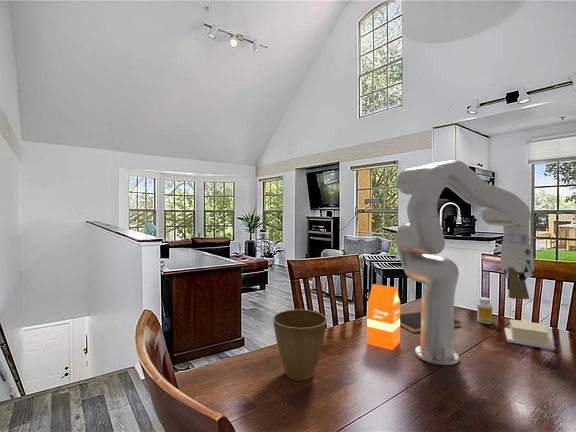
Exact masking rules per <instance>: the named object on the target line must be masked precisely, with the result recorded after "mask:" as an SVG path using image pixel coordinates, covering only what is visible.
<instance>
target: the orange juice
mask: <svg viewBox="0 0 576 432" xmlns="http://www.w3.org/2000/svg"><path fill="white" fill-rule="evenodd" d="M400 314H401V300H400V297H399V291H398V289H397V287H396V286H390V285H389V286H387V285H383V284H375V283H374V284H373V283H372V286H371V290H370V292H369V297H368V301H367V319H366V320H367V321H366V324H367V325H366V328H367V331H366V334H367V335H366V336H367V337H366V339H367V340H366V343H367V344H368V345H372V346H375V347H380V348H383V349H386V350H391V351H393V350H394V349H395V348H396V347H397V346H398V345H399V344H400V343H401V342H400V341H401V340H400V339H401V338H400V337H401V336H400V334H401V333H400V332H401V325H400Z"/></svg>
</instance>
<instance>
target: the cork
mask: <svg viewBox="0 0 576 432" xmlns="http://www.w3.org/2000/svg"><path fill="white" fill-rule="evenodd" d="M508 274H509V275H510V282H509V290H508V298H510V299H515V300H527V299H530V295H529V291H528V287H527V283H526V281H524V280H520V281H518V280H519V279H518V274H520V276H521V275H522V274H525V270H524V272H522V273H519V272H516V271H515V269H514V268H512V267H509V268H508Z"/></svg>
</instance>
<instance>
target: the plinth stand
mask: <svg viewBox="0 0 576 432" xmlns="http://www.w3.org/2000/svg"><path fill="white" fill-rule="evenodd" d="M504 333H505V337H506V341H507V342H508V343H513V344H518V345H524V346H528V347H535V348H541V349H547V350H553V351H555V346H554V344H553V342H552V341H551V339H550V337H549V332H548V330H547V328H546V326H545V325H544V323H539V322H532V321H526V320H519V319H518V320H517V319H509V328H508V327H504Z"/></svg>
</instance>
